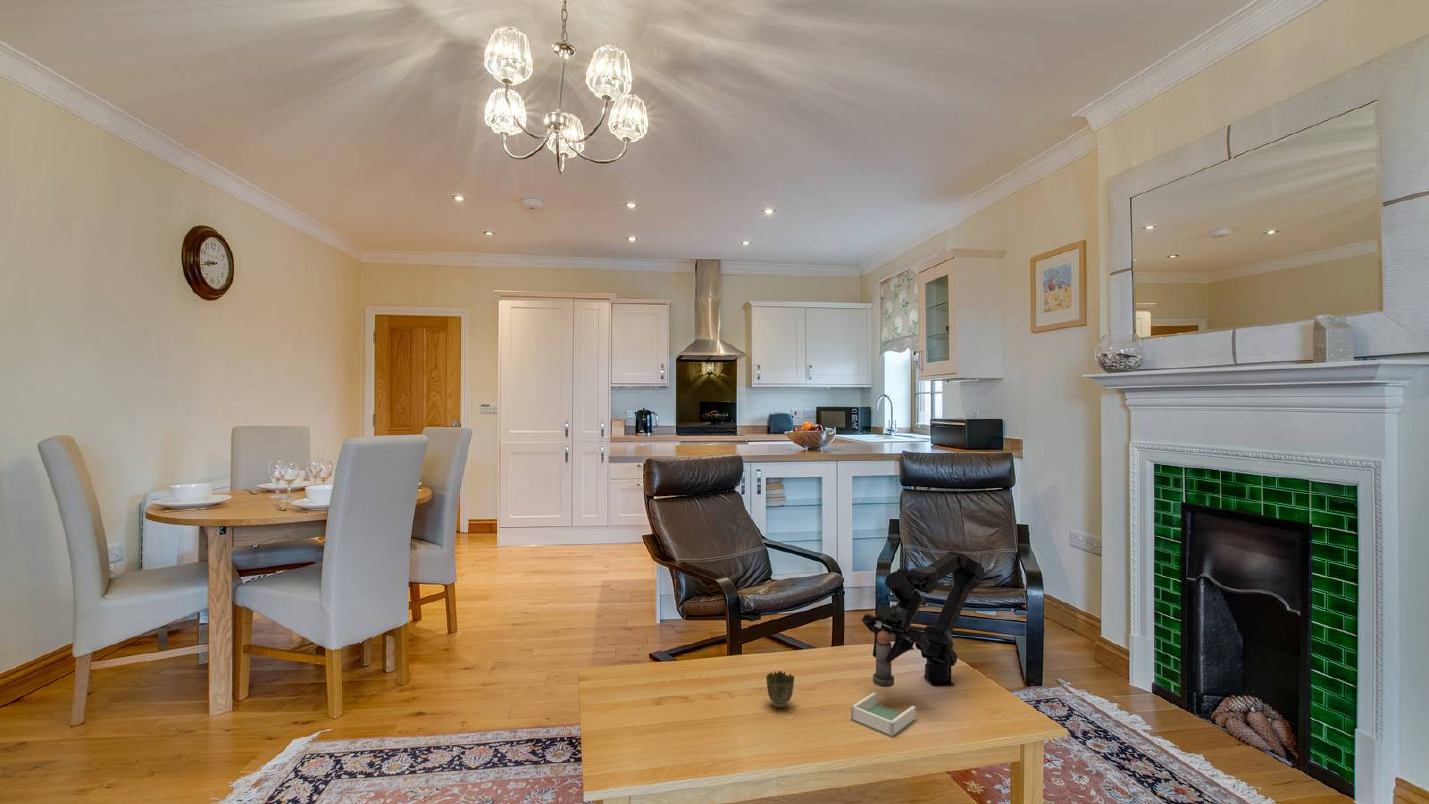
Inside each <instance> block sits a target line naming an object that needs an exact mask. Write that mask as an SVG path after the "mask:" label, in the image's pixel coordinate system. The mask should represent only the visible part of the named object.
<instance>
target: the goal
mask: <svg viewBox="0 0 1429 804" xmlns="http://www.w3.org/2000/svg"><path fill="white" fill-rule="evenodd" d="M878 695H879V694H878V692H877V691H874V692H872V693H871V694H868V695H867V696H866V697H864V698H863V699H861V700H859V701H857V702H856V703H854V704H853V705H851V706H850V721H852V722H854V723H856V724H860V725H862V726H864V727H867V728H869V729H871V730H872V731H873V730H874V731H875V732H879V733H880V734H883V735H886V736H888V737H890V738H895V736H897V735H898V734H900V733H901V732H902V731H903V730H904V729H907V727H908V726H910V725H911V724H912V723H914V722H916V711H917V710H916V706H914V705H911V706H910V707H909V708H906V709H905V710H904V711H903V712H899V711H898V710H894V709H892V708H889V707H886V706H884V705H882V704H879V703H878V701H879V696H878Z"/></svg>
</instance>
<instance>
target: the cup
mask: <svg viewBox="0 0 1429 804" xmlns="http://www.w3.org/2000/svg"><path fill="white" fill-rule="evenodd" d="M765 678H766V687H767V693H768V695H767V696H768V697H769V699H770V700H771V701H772V705H773V707H774V708H776V709H779V710H780V709H781V710H782V709H785V708H787V705H788V702H789V701H790V700H791V698H792V696H793V692H794V683H795V676H794V675H792V674H791V673H789V674H786V672H785V671H784V672H782V670H779V671H778V672H776V670H774V672H772V671H771V672H770V673H769V672H768V674H766V677H765Z"/></svg>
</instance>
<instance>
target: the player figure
mask: <svg viewBox="0 0 1429 804" xmlns="http://www.w3.org/2000/svg"><path fill="white" fill-rule="evenodd" d="M891 638H892V637H891V634H890V633H888V632H886V631H880V632H879V633H878V634H877V640H878V641H877V642H876V657H875V673H873V674H872V683H873V684H874V685H876V686H878V687H881V688H890V687H893V686H894V685H895V677H894V676H893V675H892V661H891V662H890V663H887V662H886V659H887V657H888V654H889V652H890V650H891V648H892V643H891V640H892V639H891Z"/></svg>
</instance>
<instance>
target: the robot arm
mask: <svg viewBox="0 0 1429 804" xmlns="http://www.w3.org/2000/svg"><path fill="white" fill-rule="evenodd" d="M951 573H952V574H951ZM950 574H951V575H952V579H953V583H952V586H951V589H950V590H949V593H948V594H947V598H946V599H945V602H944V604H943V606H942V609H941V611H940V613H939V615H938V617H937V620H936V621H935V623H934V624H933V625H932V626H931V625H926V626H925V629H924V632H922V631H919V630H916V629H914V628H911V625H912V624H914V625H915V624H916V622H917V621H916V616H917V614H918V612H919V610H920V608H921V606H923V607H926V606H927V603H926V600H925V596H924V595H921V594H920V593H921V592H922V593H924V594H927V595H929V594H931V593H932V592H934V591H935V590H936V589H937V588H938V586H939V581H941V580H942V579H944V578H945V577H947V576H948V575H950ZM985 574H986V571H985V568H984V567H983V564H981V563H979V562H977V561H976V560H973V559H972V558H970V557H968V555H967V554H965V553H963V552H958V551H955V550H951V551H948V552H946V554H945V555H944V556H943V555H942V557H940V558H938V559H937V560H935V561H934V562H931V563H930V564H929V565H927V566H917V567H914V568H910V570H908V572H907V571H906V570H905V569H902V568H897V570H896V571H893V572H891V573H889V574H888V575H887V576H886V577H885V580H884V585H885V586H886V587H887V589H888V590H889V592H890V593H891V594H892V596H893V597H894V598H895V600H897V602H896V603H895V604H896V605H895V604H892V605H891V606H886V605H884V604H879V605H878V608H877V611H876V612H877V613H876V615H873V614H870V613H865V614H863V617H862V619H861V622H862V623H863V625H865V627H866V628H867V629H868V630H869V631H870V632H871V633H874V642H873V649H872V657H873V658H876V642H877V641H878V640H877V634H878V633H879V632H880V631H886V632H888V633H889V635H892V636H895V637H894V643H893V645H892V646H891V650H890V652H889V654H888V657H887V659H886V662H887V663H890V662H891V663H892V661H894V660H895V659H897V658H899V656H902V655H903V654H905V653H907V652H908V651H910V650H911V651H913V650H914V649H915V648H916V649H917V650H919V651H920V654H921V657H922V658H924V659H926V663H925V664H924V675H923V678H924V679H925V680H926V681H927V682H928V683H930V684H931V686H932V687H948V686H952V687H953V686H955V683H954V682H953V681H952V667H955V666H956V665H955V664H957V661H958V654H957V653H956V652H955V651H954V649H953V646H954V641H953V631H954V628H956V627H955V626H956V624H957V622H958V619H959V618H960V616H961V615H960V614H961V612H962V610H963V608H964V606H965V604H966V601H967V599H968V598H969V594H970V592H971V591H973V590H975V589H976V588H978V587H979V586H980V584H981V582H982V581H983V580H984V577H985ZM879 617H881V618H882V620H881V619H880V618H879ZM882 621H883V622H885V623H883V622H882ZM914 646H915V648H914Z"/></svg>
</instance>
